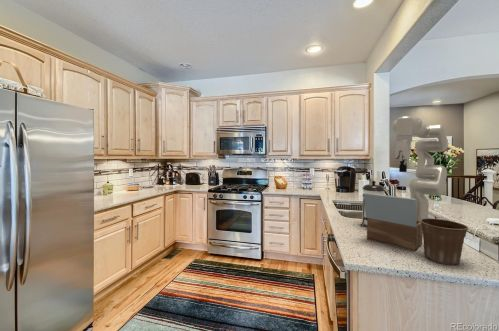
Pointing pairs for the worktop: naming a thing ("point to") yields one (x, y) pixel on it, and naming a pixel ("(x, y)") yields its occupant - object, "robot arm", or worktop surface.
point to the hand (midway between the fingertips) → (402, 171)
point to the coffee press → (371, 190)
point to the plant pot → (443, 240)
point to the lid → (391, 209)
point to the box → (395, 234)
